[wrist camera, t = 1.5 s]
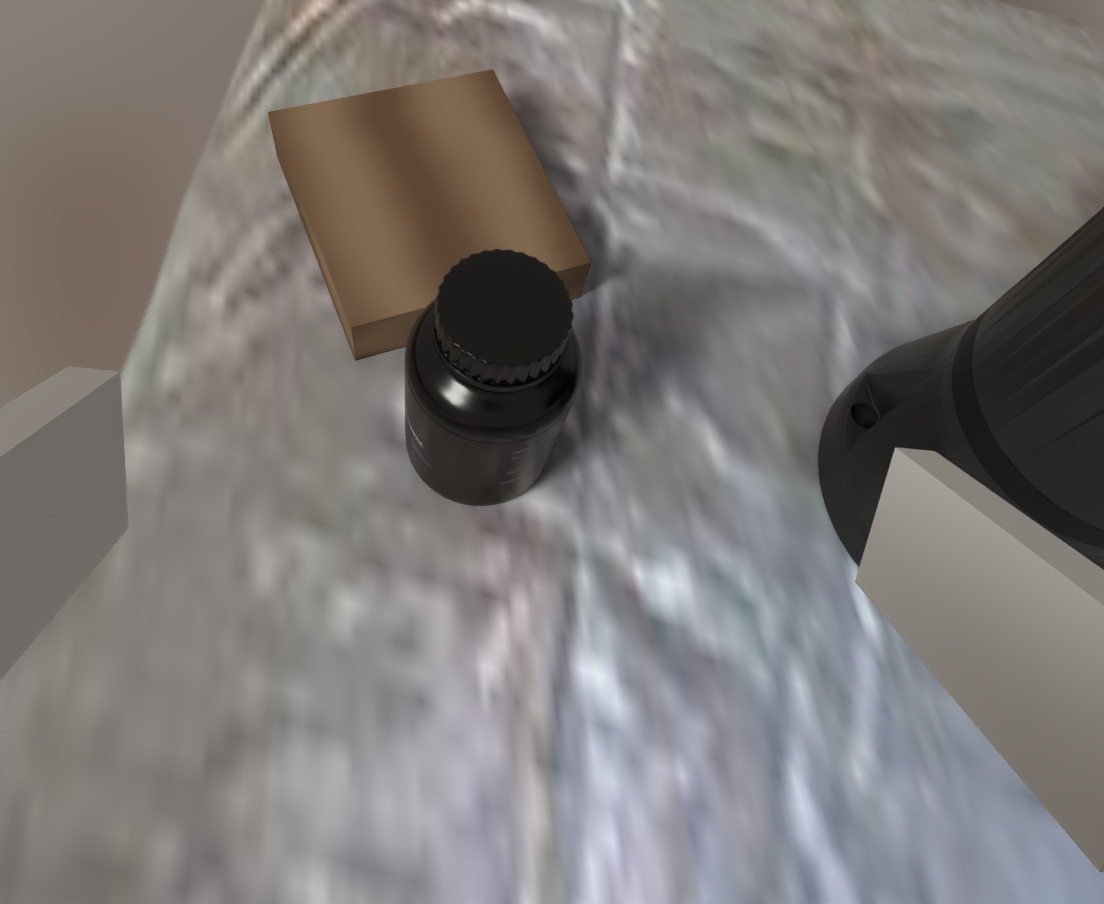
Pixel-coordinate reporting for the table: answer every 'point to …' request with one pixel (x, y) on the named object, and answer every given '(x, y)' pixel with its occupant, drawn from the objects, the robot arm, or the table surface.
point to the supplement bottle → (490, 377)
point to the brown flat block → (417, 197)
